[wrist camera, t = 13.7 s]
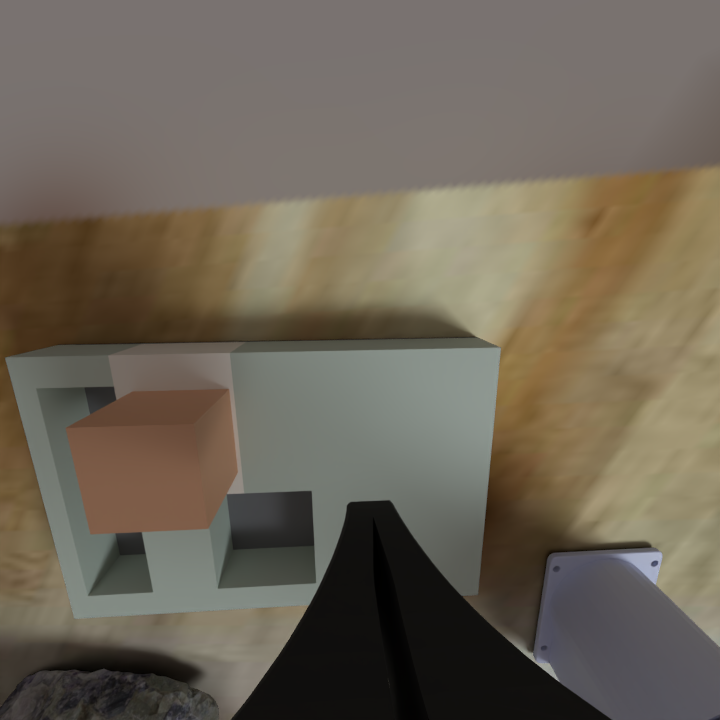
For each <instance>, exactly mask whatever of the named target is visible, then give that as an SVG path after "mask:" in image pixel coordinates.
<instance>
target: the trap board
mask: <svg viewBox="0 0 720 720" xmlns="http://www.w3.org/2000/svg"><path fill="white" fill-rule="evenodd" d="M500 351H501V347H498V346H496V345H494V344H491V343H489V342H487V341H485V340H482V339H480V338H478V337H455V338H400V339H346V340H291V341H237V342H182V343H128V344H73V345H56V346H52V347H47V348H43V349H39V350H35V351H30V352H26V353H22V354H18V355H14V356H9V357H5V359H6V363H7V367H8V371H9V374H10V378H11V382H12V386H13V389H14V393H15V397H16V401H17V404H18V408H19V412H20V416H21V419H22V423H23V427H24V431H25V434H26V438H27V442H28V446H29V450H30V453H31V457H32V461H33V465H34V468H35V472H36V476H37V480H38V483H39V487H40V491H41V495H42V498H43V502H44V506H45V510H46V513H47V517H48V521H49V525H50V529H51V532H52V536H53V540H54V544H55V547H56V551H57V555H58V559H59V562H60V566H61V570H62V574H63V577H64V581H65V585H66V589H67V592H68V596H69V600H70V604H71V608H72V611H73V615H74V619H78V618H95V617H112V616H129V615H146V614H163V613H180V612H197V611H214V610H231V609H248V608H265V607H282V606H299V605H309V604H310V603H311V601H312V599H313V597H314V595H315V593H316V591H317V589H318V587H319V585H320V583H321V581H322V579H323V577H324V574H325V572H326V570H327V568H328V565H329V563H330V561H331V559H332V556H333V554H334V551H335V548H336V545H337V543H338V540H339V537H340V534H341V531H342V528H343V524H344V520H345V516H346V509H347V504H349V503H350V502H358V501H381V500H390V501H391V502H392V503H393V504H394V506H395V508H396V510H397V512H398V513H399V515H400V517H401V518H402V520H403V522H404V523H405V525H406V526H407V528H408V529H409V531H410V532H411V534H412V535H413V537H414V538H415V540H416V541H417V542H418V544H419V545H420V546H421V548H422V549H423V550H424V552H425V553H426V555H427V556H428V557H429V558H430V560H431V561H432V562H433V564H434V565H435V566H436V567H437V568H438V570H439V571H440V572H441V573H442V574H443V576H444V577H445V578H446V579H447V580H448V581H449V583H450V584H451V585H452V586H453V587H454V588H455V589H456V590H457V591H458V593H459V594H460V595H461V596H470V595H478V589H479V578H480V567H481V556H482V546H483V535H484V524H485V513H486V502H487V492H488V481H489V470H490V459H491V448H492V437H493V427H494V416H495V405H496V394H497V383H498V372H499V362H500ZM209 389H229V392H230V401H231V411H232V420H233V430H234V439H235V449H236V458H237V468H238V473H237V475H236V477H235V479H234V481H233V483H232V485H231V487H230V489H229V491H228V492H227V494H226V496H225V498H224V500H223V502H222V504H221V506H220V508H219V509H218V511H217V513H216V515H215V517H214V519H213V521H212V523H211V525H210V526H209V528H208V529H197V530H175V531H154V532H132V533H110V534H90V531H89V527H88V522H87V518H86V514H85V509H84V505H83V501H82V497H81V492H80V488H79V484H78V479H77V475H76V471H75V467H74V462H73V458H72V454H71V449H70V445H69V441H68V437H67V432H66V427H68V426H70V425H72V424H74V423H75V422H77V421H79V420H81V419H83V418H85V417H86V416H88V415H90V414H92V413H94V412H96V411H97V410H99V409H101V408H103V407H105V406H107V405H108V404H110V403H112V402H114V401H116V400H118V399H119V398H121V397H123V396H125V395H127V394H129V393H130V392H132V391H169V390H209Z"/></svg>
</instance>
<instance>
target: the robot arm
mask: <svg viewBox="0 0 720 720" xmlns="http://www.w3.org/2000/svg"><path fill="white" fill-rule="evenodd" d="M661 561H662V553H661V552H660V551H659V550H658V549H656V548H636V549H617V550H598V551H579V552H560V553H552V554H550V555H549V556H548V559H547V564H546V571H545V578H544V585H543V591H542V598H541V605H540V612H539V618H538V625H537V632H536V639H535V645H534V652H533V656H534V658H535V660H536V661H537V662H538V663H550V665H551V667H552V668H553V670H554V672H555V674H556V676H557V678H558V680H559V681H560V682H558V681H557V680H556V679H554V678H553V677H552V676H551V675H549V674H548V673H547V672H546V671H544V670H543V669H542V668H541V667H539V666H538V665H537V664H535V663H534V662H533V661H532V660H530V659H529V658H528V657H527V656H525V655H524V654H523V653H522V652H521V651H520V650H519V649H517V648H516V647H515V646H514V645H513V644H512V643H511V642H509V641H508V640H507V639H506V638H505V637H504V636H503V635H501V634H500V633H499V632H498V631H497V630H496V629H495V628H494V627H492V626H491V625H490V624H489V623H488V622H487V621H486V620H485V619H484V618H483V617H482V616H481V615H480V614H479V613H478V612H477V611H476V610H475V609H474V608H473V607H472V606H471V605H470V604H469V603H468V602H467V601H466V600H465V599H464V598H463V597H462V596H461V595H460V594H459V593H458V591H457V590H456V589H455V588H454V587H453V586H452V585H451V584H450V583H449V581H448V580H447V579H446V578H445V577H444V576H443V574H442V573H441V572H440V571H439V570H438V568H437V567H436V566H435V565H434V564H433V562H432V561H431V560H430V558H429V557H428V556H427V555H426V553H425V552H424V550H423V549H422V548H421V546H420V545H419V544H418V542H417V541H416V540H415V538H414V537H413V535H412V534H411V532H410V531H409V529H408V528H407V526H406V525H405V523H404V522H403V520H402V518H401V517H400V515H399V513H398V512H397V510H396V508H395V506H394V504H393V503H392V502H391V501H390V500H381V501H358V502H350V503H349V504H347V509H346V516H345V520H344V524H343V528H342V531H341V534H340V537H339V540H338V543H337V545H336V548H335V551H334V554H333V556H332V559H331V561H330V563H329V565H328V568H327V570H326V572H325V574H324V577H323V579H322V581H321V583H320V585H319V587H318V589H317V591H316V593H315V595H314V597H313V599H312V601H311V603H310V604H309V606H308V608H307V610H306V612H305V614H304V615H303V617H302V619H301V620H300V622H299V624H298V625H297V627H296V629H295V630H294V632H293V634H292V635H291V637H290V639H289V640H288V642H287V643H286V645H285V646H284V648H283V650H282V651H281V653H280V654H279V656H278V657H277V658H276V660H275V661H274V663H273V664H272V665H271V667H270V668H269V670H268V671H267V673H266V674H265V675H264V677H263V678H262V680H261V681H260V682H259V684H258V685H257V687H256V688H255V689H254V691H253V692H252V694H251V695H250V696H249V698H248V699H247V700H246V702H245V703H244V704H243V705H242V707H241V708H240V709H239V710H238V712H237V713H236V714H235V715H234V717H233V718H232V719H231V720H720V647H719V646H718V645H717V644H716V643H715V642H714V641H713V640H712V639H711V638H710V637H709V636H708V635H707V634H705V633H704V632H703V631H702V630H701V629H700V628H699V627H698V626H697V625H696V624H695V623H694V622H693V621H692V620H691V619H690V618H689V617H688V616H687V615H686V614H685V613H684V612H683V611H682V610H681V609H680V608H679V607H678V606H677V605H676V604H675V603H674V602H673V601H672V600H671V599H670V598H669V597H668V596H667V595H665V594H664V593H663V592H662V591H661V590H660V589H659V588H658V587H657V586H656V581H657V577H658V573H659V569H660V565H661ZM388 680H389V681H388ZM389 686H390V687H389Z"/></svg>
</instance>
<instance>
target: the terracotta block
mask: <svg viewBox="0 0 720 720" xmlns="http://www.w3.org/2000/svg"><path fill="white" fill-rule="evenodd" d="M66 432H67V437H68V441H69V445H70V449H71V454H72V458H73V462H74V467H75V471H76V475H77V479H78V484H79V488H80V492H81V497H82V501H83V505H84V509H85V514H86V518H87V522H88V527H89V531H90V534H110V533H132V532H154V531H175V530H197V529H208V528H209V526H210V525H211V523H212V521H213V519H214V517H215V515H216V513H217V511H218V509H219V508H220V506H221V504H222V502H223V500H224V498H225V496H226V494H227V492H228V491H229V489H230V487H231V485H232V483H233V481H234V479H235V477H236V475H237V473H238V468H237V458H236V449H235V439H234V430H233V420H232V411H231V401H230V392H229V389H209V390H169V391H132V392H130V393H129V394H127V395H125V396H123V397H121V398H119V399H118V400H116V401H114V402H112V403H110V404H108V405H107V406H105V407H103V408H101V409H99V410H97V411H96V412H94V413H92V414H90V415H88V416H86V417H85V418H83V419H81V420H79V421H77V422H75V423H74V424H72V425H70V426H68V427H66Z"/></svg>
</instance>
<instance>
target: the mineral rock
mask: <svg viewBox="0 0 720 720" xmlns="http://www.w3.org/2000/svg"><path fill="white" fill-rule="evenodd" d="M0 720H219V708H218V706H217V704H216V702H215V700H214V699H213V698H212V697H211V696H210V695H209V694H206V693H204V692H202V691H200V690H198V689H193V688H191V687H190V686H189V685H188V684H187V683H184V682H181V681H177V680H173V679H171V678H168V677H166V676H156V675H155V674H153V673H152V674H134V673H131V672H123V673H122V672H119V671H112V672H111V671H108V670H106V669H101V670H97V671H95V672H92V673H90V672H89V671H78V670H68V671H58V670H56V671H48V670H44V671H39V672H37V673H36V674H34V675H32V676H31V675H29V676H27V677H25V678H24V679H23V681H22V682H20V683H19V684H18V685H17V687H16V689H15V690H14V691H13V693H12V694H11V695H10V696H9V697H8V698H7V699H6V701H5V702H4V703H3V705H2V706H1V707H0Z"/></svg>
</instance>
